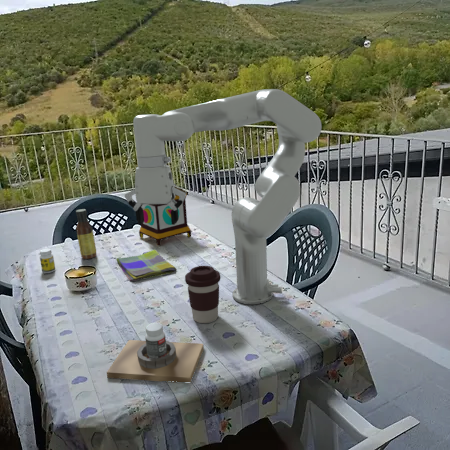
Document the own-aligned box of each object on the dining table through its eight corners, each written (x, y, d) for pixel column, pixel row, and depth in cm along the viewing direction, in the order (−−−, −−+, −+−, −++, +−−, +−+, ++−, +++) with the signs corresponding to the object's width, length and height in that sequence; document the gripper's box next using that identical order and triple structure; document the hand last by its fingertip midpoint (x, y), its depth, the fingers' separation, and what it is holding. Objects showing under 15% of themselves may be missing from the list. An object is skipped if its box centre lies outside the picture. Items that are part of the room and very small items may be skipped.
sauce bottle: (100, 255, 184) (93, 209, 178) (88, 260, 179) (81, 213, 173) (89, 253, 188) (82, 207, 182) (77, 258, 183) (70, 211, 177)
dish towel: (158, 254, 184) (157, 247, 183) (178, 273, 163) (178, 266, 162) (115, 262, 177) (114, 256, 176) (131, 284, 156) (130, 277, 155)
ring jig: (203, 348, 114) (202, 336, 113) (190, 383, 101) (189, 370, 100) (129, 344, 118) (128, 333, 117) (107, 377, 105) (105, 364, 104)
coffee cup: (210, 329, 123) (206, 279, 119) (181, 321, 128) (177, 273, 124) (229, 314, 131) (226, 266, 127) (201, 306, 136) (198, 261, 132)
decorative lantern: (172, 228, 216) (167, 166, 207) (196, 237, 201) (191, 171, 192) (135, 238, 204) (127, 173, 196) (157, 248, 189) (150, 178, 180)
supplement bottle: (39, 272, 170) (35, 251, 167) (48, 267, 174) (45, 247, 172) (49, 273, 168) (45, 252, 166) (58, 269, 172) (54, 248, 170)
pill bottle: (163, 363, 106) (160, 332, 104) (144, 361, 107) (141, 331, 105) (169, 352, 111) (166, 322, 108) (151, 350, 112) (148, 321, 109)
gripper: (186, 159, 122) (191, 219, 127) (126, 160, 125) (133, 219, 130) (179, 163, 114) (184, 227, 119) (115, 165, 118) (123, 227, 123)
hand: (157, 223), depth 125 cm, fingers open, 9 cm apart
